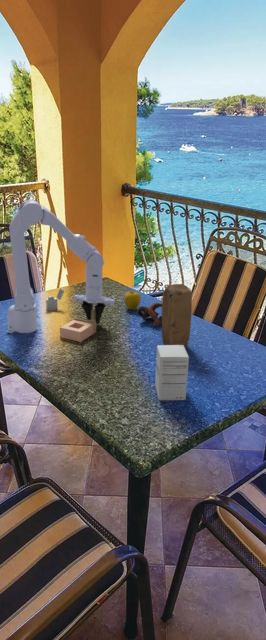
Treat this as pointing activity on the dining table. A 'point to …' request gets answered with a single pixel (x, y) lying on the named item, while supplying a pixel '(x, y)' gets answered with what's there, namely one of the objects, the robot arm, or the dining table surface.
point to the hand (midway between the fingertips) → (94, 322)
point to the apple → (132, 300)
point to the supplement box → (171, 372)
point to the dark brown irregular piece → (150, 313)
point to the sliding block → (76, 330)
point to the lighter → (53, 301)
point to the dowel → (93, 314)
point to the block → (176, 314)
